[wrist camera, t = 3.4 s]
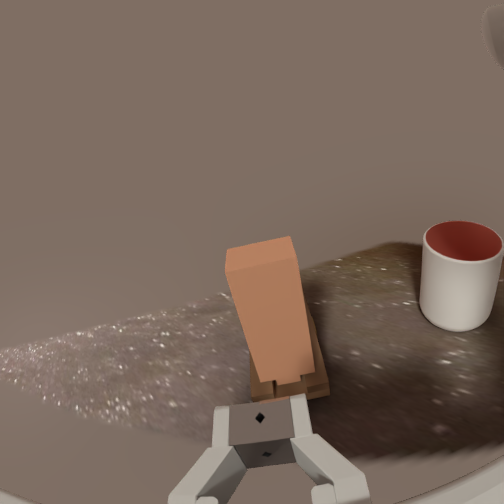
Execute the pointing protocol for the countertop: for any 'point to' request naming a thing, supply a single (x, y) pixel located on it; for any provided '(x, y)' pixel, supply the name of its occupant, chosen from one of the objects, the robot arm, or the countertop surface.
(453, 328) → the cup
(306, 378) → the beam
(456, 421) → the countertop surface
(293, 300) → the plate
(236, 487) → the robot arm
